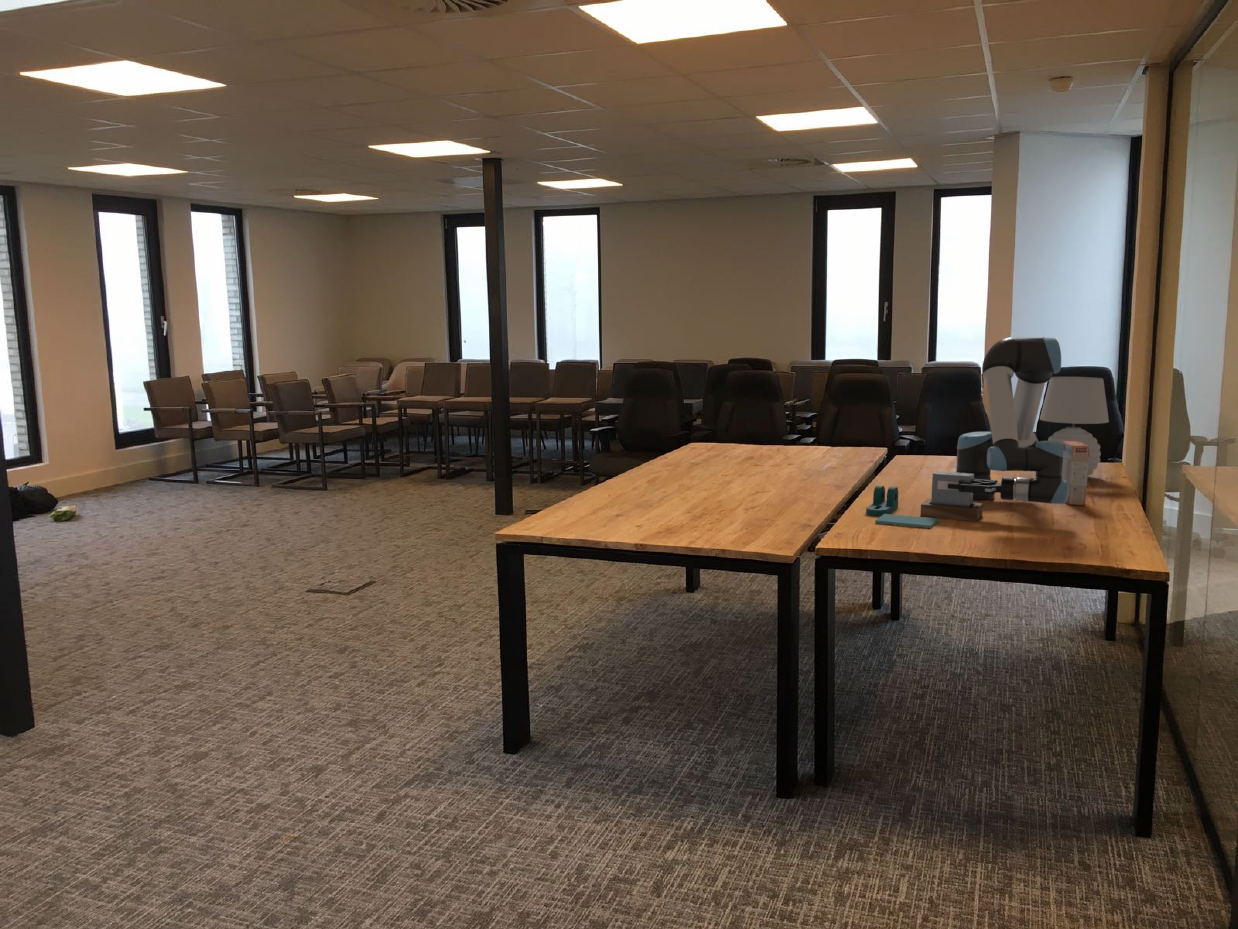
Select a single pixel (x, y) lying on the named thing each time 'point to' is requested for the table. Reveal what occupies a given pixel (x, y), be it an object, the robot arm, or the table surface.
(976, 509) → the slotted block
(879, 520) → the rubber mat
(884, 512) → the bracket
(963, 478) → the dark grey block
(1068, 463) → the cracker box
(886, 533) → the table surface
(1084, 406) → the table lamp
